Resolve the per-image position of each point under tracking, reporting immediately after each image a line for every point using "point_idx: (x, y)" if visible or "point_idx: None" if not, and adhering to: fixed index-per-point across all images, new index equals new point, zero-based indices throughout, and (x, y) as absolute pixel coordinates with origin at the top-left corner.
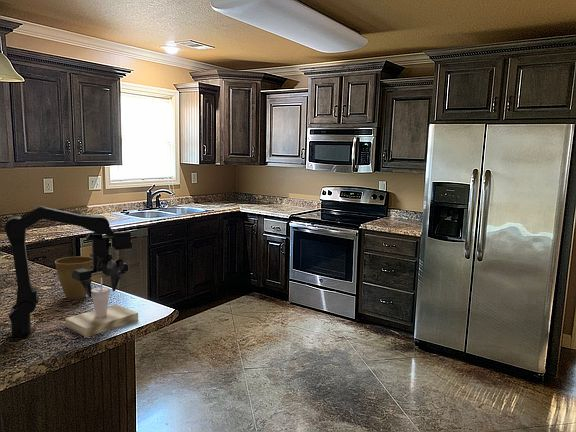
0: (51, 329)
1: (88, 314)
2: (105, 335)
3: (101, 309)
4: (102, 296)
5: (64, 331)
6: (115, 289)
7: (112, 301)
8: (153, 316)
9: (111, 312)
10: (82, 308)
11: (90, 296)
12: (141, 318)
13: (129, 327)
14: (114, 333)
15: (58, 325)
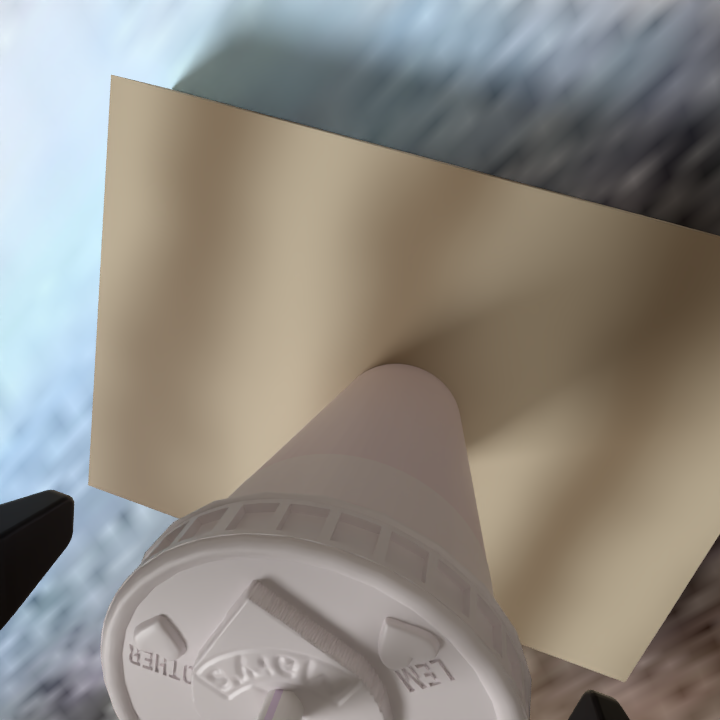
0: (706, 672)
1: None
2: (688, 92)
3: (439, 417)
4: (420, 518)
5: (716, 555)
6: (19, 501)
7: None
8: (4, 25)
9: (273, 381)
10: None
11: (617, 708)
12: None
13: (364, 18)
14: (593, 37)
15: None
